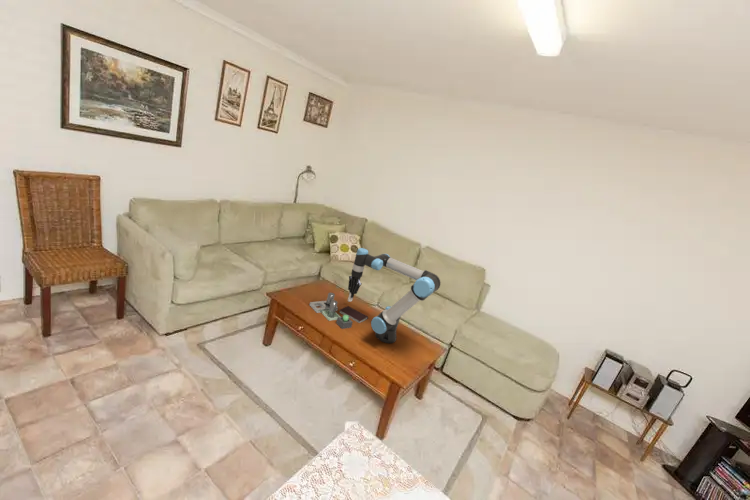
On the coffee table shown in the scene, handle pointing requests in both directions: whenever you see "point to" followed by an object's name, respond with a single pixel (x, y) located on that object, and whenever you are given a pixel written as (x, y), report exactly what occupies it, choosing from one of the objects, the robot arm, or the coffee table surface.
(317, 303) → the pallet
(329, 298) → the seated billet
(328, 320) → the green plate
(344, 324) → the console
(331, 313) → the billet
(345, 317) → the button
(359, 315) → the book
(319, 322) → the coffee table surface
